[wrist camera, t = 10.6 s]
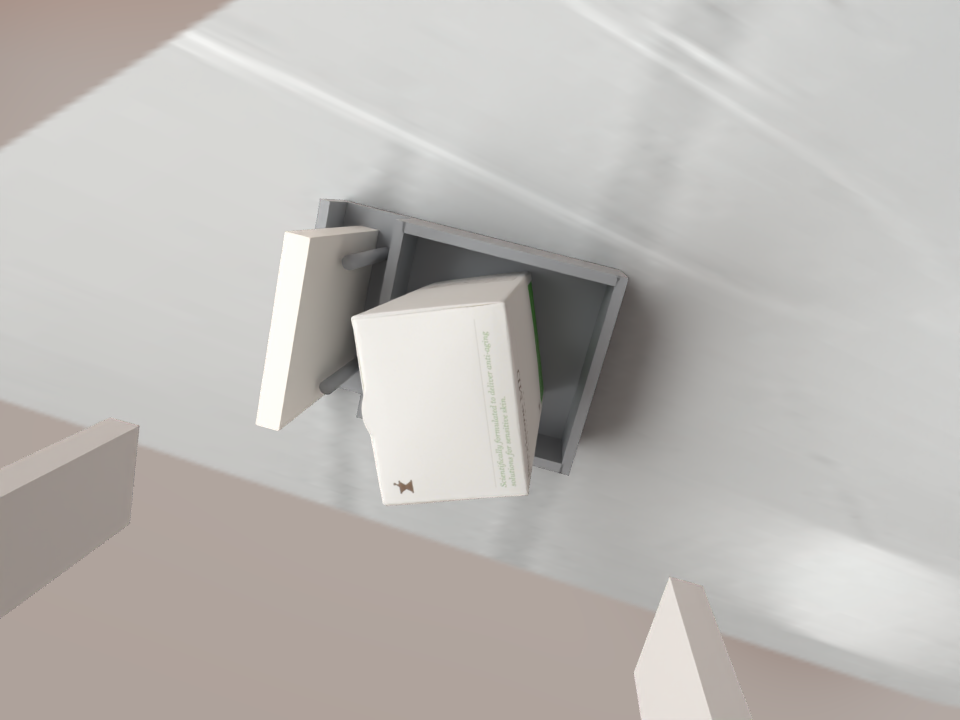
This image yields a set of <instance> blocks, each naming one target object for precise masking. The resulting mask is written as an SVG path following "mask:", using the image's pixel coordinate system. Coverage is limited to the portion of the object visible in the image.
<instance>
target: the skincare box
mask: <svg viewBox="0 0 960 720" xmlns="http://www.w3.org/2000/svg"><path fill="white" fill-rule="evenodd" d="M351 322H352V326H353V330H354V337H355V343H356V350H357V357H358V363H359V370H360V376H361V383H362V389H363V400H362V417H363V421H364V424H365V427H366V428H367V430H368V432H369V433H370V435H371V440H372V446H373V452H374V458H375V464H376V469H377V474H378V481H379V486H380V491H381V496H382V500H383V504H385V505H386V506H393V505H408V504H421V503H433V502H444V501H456V500H468V499H479V498H493V497H508V496H524V495H528V494H529V485H530V479H531V472H532V466H533V460H534V454H535V447H536V441H537V435H538V429H539V422H540V416H541V410H542V404H543V398H544V382H543V373H542V364H541V355H540V347H539V338H538V330H537V322H536V314H535V306H534V296H533V287H532V277H531V272H530V271H519V272H510V273H501V274H493V275H485V276H477V277H469V278H462V279H454V280H447V281H440V282H435V283H432V284H429V285H427V286H424V287H422V288H420V289H417V290H415V291H413V292H410V293H408V294H406V295H403V296H401V297H398V298H396V299H393V300H391V301H389V302H387V303H384V304H382V305H379V306H377V307H374V308H372V309H370V310H367V311H365V312H362V313H360V314H357V315H355V316H352V318H351Z"/></svg>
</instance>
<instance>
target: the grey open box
mask: <svg viewBox="0 0 960 720" xmlns="http://www.w3.org/2000/svg"><path fill="white" fill-rule="evenodd" d="M519 271H530V272H531V277H532V287H533V296H534V306H535V314H536V322H537V330H538V338H539V347H540V355H541V364H542V373H543V382H544V398H543V404H542V410H541V416H540V422H539V429H538V435H537V441H536V447H535V454H534V460H533V466H535V467H539V468H543V469H546V470H550V471H554V472H557V473H561V474H564V475H568V476H569V473H570V470H571V467H572V463H573V460H574V457H575V454H576V450H577V447H578V444H579V440H580V437H581V434H582V431H583V427H584V424H585V421H586V417H587V414H588V411H589V408H590V404H591V401H592V398H593V394H594V391H595V388H596V385H597V381H598V378H599V375H600V371H601V368H602V365H603V362H604V358H605V355H606V352H607V349H608V345H609V342H610V339H611V335H612V332H613V329H614V326H615V322H616V319H617V316H618V312H619V309H620V306H621V303H622V299H623V296H624V293H625V289H626V286H627V283H628V280H629V278H628V277H627V276H626V275H625V274H624V273H623V272H622V271H620V270H618V269H614V268H610V267H606V266H602V265H599V264H595V263H591V262H587V261H583V260H579V259H575V258H571V257H567V256H563V255H559V254H555V253H551V252H547V251H543V250H539V249H535V248H531V247H527V246H524V245H520V244H516V243H512V242H508V241H504V240H500V239H496V238H492V237H488V236H484V235H480V234H476V233H472V232H468V231H464V230H460V229H456V228H452V227H449V226H445V225H441V224H437V223H433V222H429V221H425V220H421V219H417V218H413V217H409V216H405V215H401V214H397V213H393V212H389V211H385V210H381V209H377V208H374V207H370V206H366V205H362V204H358V203H354V202H350V201H346V200H335V199H320V202H319V208H318V214H317V220H316V226H315V229H309V230H296V231H285V236H284V242H283V249H282V255H281V262H280V269H279V275H278V282H277V288H276V295H275V301H274V308H273V314H272V321H271V327H270V334H269V341H268V347H267V354H266V360H265V367H264V373H263V380H262V386H261V393H260V400H259V406H258V413H257V419H256V425H259V426H263V427H266V428H270V429H273V430H277V431H279V430H281V429H282V428H283V427H284V426H286V425H287V424H288V423H289V422H291V421H292V420H293V419H294V418H296V417H297V416H298V415H300V414H301V413H302V412H303V411H305V410H306V409H307V408H308V407H310V406H311V405H312V404H313V403H315V402H316V401H317V400H319V399H320V398H321V397H322V396H324V395H325V394H331V393H332V392H333V391H334V390H336V389H337V388H342V389H345V390H349V391H353V392H356V393H360V394H361V396H360V401H359V406H358V411H357V416H356V417H357V418H361V419H363V417H362V400H363V389H362V383H361V376H360V370H359V363H358V357H357V350H356V343H355V337H354V330H353V326H352V322H351V318H352V316H355V315H357V314H360V313H362V312H365V311H367V310H370V309H372V308H374V307H377V306H379V305H382V304H384V303H387V302H389V301H391V300H393V299H396V298H398V297H401V296H403V295H406V294H408V293H410V292H413V291H415V290H417V289H420V288H422V287H424V286H427V285H429V284H432V283H435V282H440V281H447V280H454V279H462V278H469V277H477V276H485V275H493V274H501V273H510V272H519Z"/></svg>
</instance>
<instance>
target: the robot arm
mask: <svg viewBox="0 0 960 720" xmlns="http://www.w3.org/2000/svg"><path fill="white" fill-rule="evenodd" d="M138 435H139V425H135V424H132V423H128V422H125V421H121V420H118V419H114V418H111V417H110V418H108V419H106V420H104V421H102V422H99V423H97V424H95V425H93V426H91V427H89V428H86V429H84V430H82V431H80V432H78V433H76V434H73V435H71V436H69V437H67V438H65V439H63V440H61V441H58V442H56V443H54V444H52V445H50V446H48V447H46V448H43V449H41V450H39V451H37V452H35V453H32V454H30V455H28V456H26V457H24V458H22V459H20V460H17V461H15V462H13V463H11V464H9V465H7V466H5V467H2V468H0V619H1V618H2V617H3V616H5V615H6V614H7V613H9V612H10V611H11V610H13V609H14V608H16V607H17V606H18V605H20V604H21V603H22V602H24V601H25V600H26V599H28V598H29V597H31V596H32V595H33V594H35V593H36V592H37V591H39V590H40V589H42V588H43V587H44V586H46V585H47V584H48V583H50V582H51V581H52V580H54V579H55V578H57V577H58V576H59V575H61V574H62V573H63V572H65V571H66V570H68V569H69V568H70V567H72V566H73V565H74V564H75V563H77V562H78V561H80V560H81V559H83V558H84V557H85V556H87V555H88V554H89V553H90V552H92V551H94V550H95V549H96V548H98V547H99V546H100V545H102V544H103V543H104V542H105V541H107V540H109V539H110V538H111V537H113V536H114V535H115V534H117V533H118V532H119V531H121V530H122V529H124V528H125V527H126V526H128V525H129V524H130V518H131V507H132V495H133V486H134V476H135V466H136V456H137V445H138ZM634 676H635V683H636V688H637V695H638V702H639V708H640V714H641V720H753V719H752V716H751V713H750V711H749V708H748V705H747V703H746V700H745V697H744V695H743V692H742V690H741V687H740V684H739V682H738V679H737V676H736V674H735V671H734V668H733V666H732V663H731V660H730V658H729V655H728V652H727V650H726V647H725V645H724V642H723V639H722V636H721V634H720V631H719V628H718V626H717V623H716V620H715V618H714V615H713V612H712V610H711V607H710V604H709V602H708V599H707V596H706V594H705V591H704V588H703V586H701V585H698V584H694V583H691V582H687V581H684V580H680V579H677V578H673V577H669V580H668V582H667V585H666V588H665V590H664V593H663V596H662V598H661V601H660V604H659V607H658V609H657V612H656V615H655V618H654V620H653V623H652V625H651V628H650V631H649V634H648V636H647V639H646V642H645V644H644V647H643V650H642V652H641V655H640V658H639V661H638V663H637V666H636V669H635V671H634Z"/></svg>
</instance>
